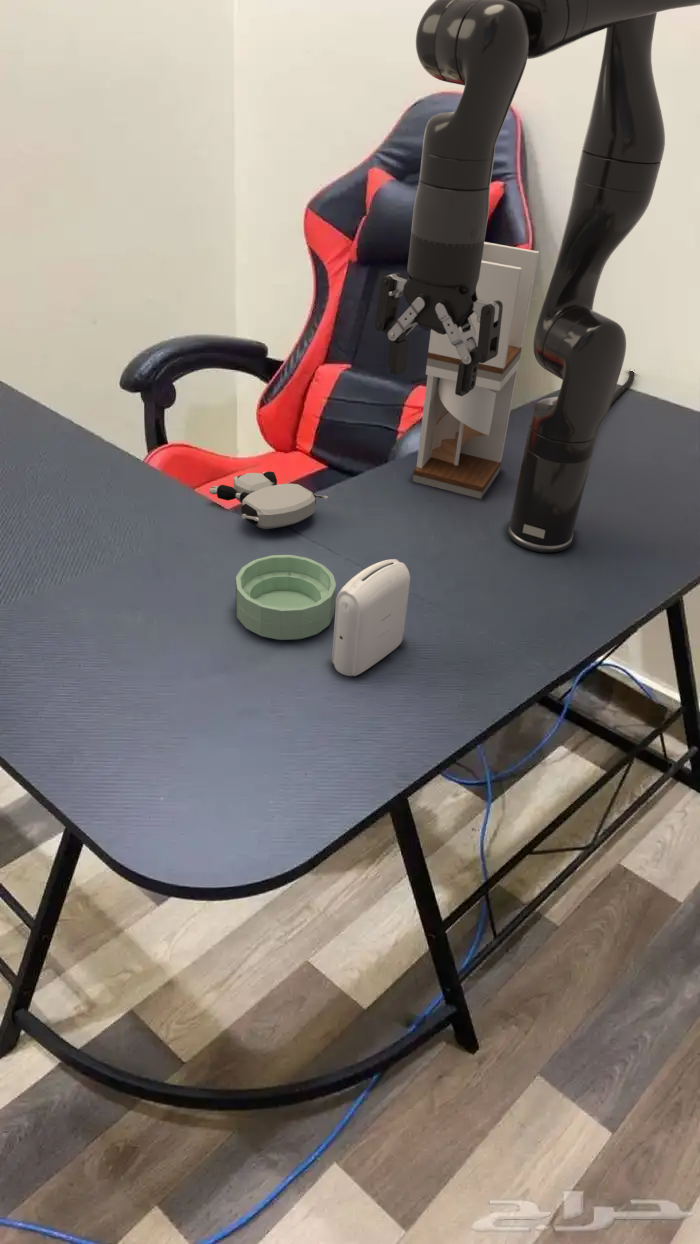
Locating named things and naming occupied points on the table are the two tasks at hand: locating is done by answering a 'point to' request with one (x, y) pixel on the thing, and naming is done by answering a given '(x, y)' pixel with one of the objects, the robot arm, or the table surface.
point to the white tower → (477, 422)
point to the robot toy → (269, 500)
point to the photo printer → (370, 616)
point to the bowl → (285, 597)
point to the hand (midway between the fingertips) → (429, 382)
